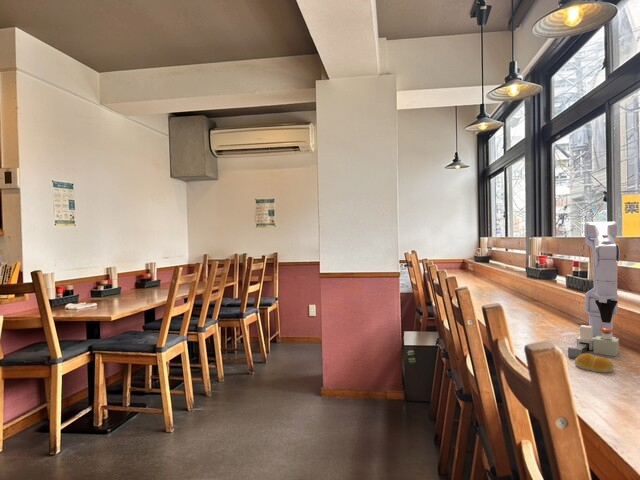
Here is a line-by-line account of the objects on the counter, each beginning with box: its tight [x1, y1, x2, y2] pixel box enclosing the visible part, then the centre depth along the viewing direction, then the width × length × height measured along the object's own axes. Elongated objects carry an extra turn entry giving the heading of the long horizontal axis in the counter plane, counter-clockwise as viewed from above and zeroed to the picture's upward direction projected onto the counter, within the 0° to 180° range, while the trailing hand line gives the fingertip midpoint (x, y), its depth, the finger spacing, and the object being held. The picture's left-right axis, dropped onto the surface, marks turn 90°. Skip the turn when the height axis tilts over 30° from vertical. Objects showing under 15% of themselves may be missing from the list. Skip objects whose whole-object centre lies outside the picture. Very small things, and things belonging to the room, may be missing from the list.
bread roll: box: [574, 352, 615, 374], centre depth 116 cm, size 8×9×4 cm
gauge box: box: [593, 336, 620, 357], centre depth 132 cm, size 6×6×4 cm
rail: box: [567, 336, 595, 359], centre depth 134 cm, size 24×4×3 cm, turn 137°
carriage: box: [576, 324, 594, 351], centre depth 138 cm, size 6×4×7 cm
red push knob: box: [600, 328, 614, 340], centre depth 132 cm, size 3×3×5 cm
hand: (606, 322), depth 132 cm, fingers closed
